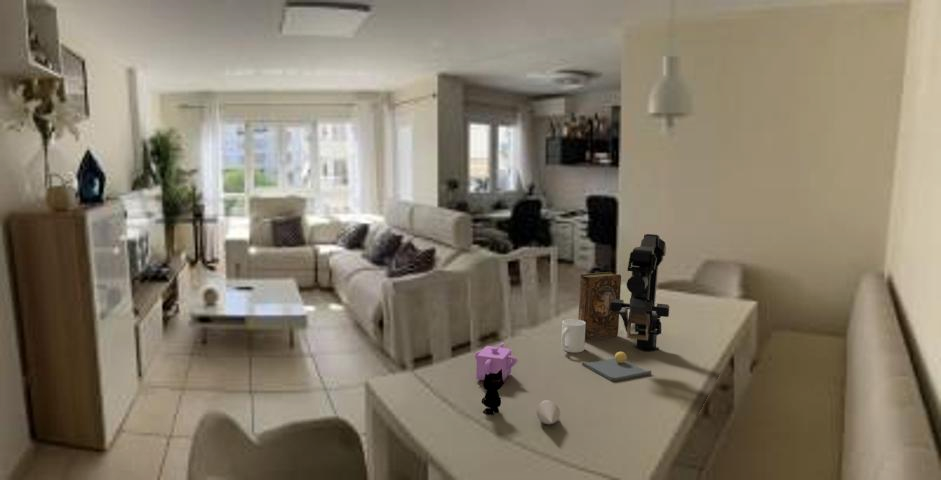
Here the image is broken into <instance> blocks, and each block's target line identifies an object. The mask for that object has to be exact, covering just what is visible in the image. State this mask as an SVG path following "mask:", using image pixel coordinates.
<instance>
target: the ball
mask: <svg viewBox="0 0 941 480" xmlns="http://www.w3.org/2000/svg"><path fill="white" fill-rule="evenodd" d="M627 357H628V356H627V354H626V353H625V352H624V351H618V352H616V353H615V355H614V358H615V360H616V362H618V363H624V362H625V361H627V359H628V358H627Z"/></svg>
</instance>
